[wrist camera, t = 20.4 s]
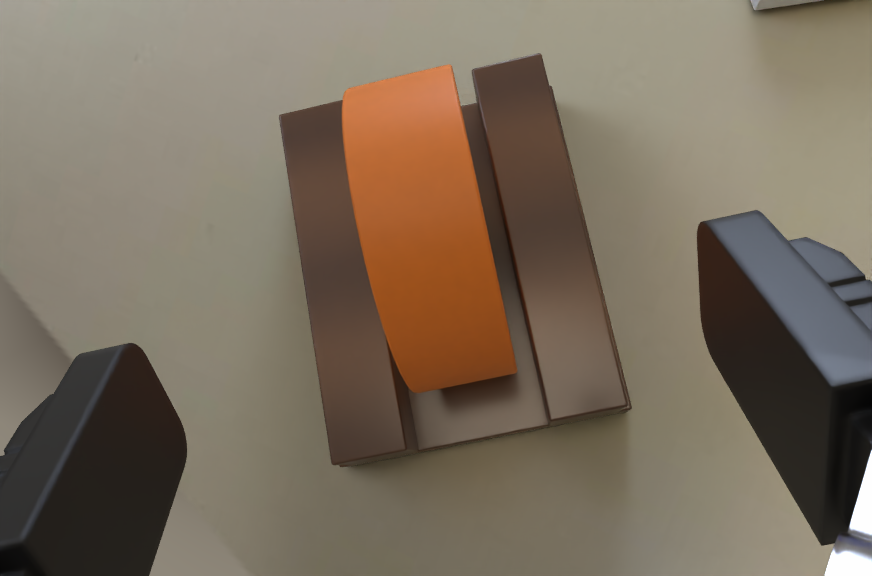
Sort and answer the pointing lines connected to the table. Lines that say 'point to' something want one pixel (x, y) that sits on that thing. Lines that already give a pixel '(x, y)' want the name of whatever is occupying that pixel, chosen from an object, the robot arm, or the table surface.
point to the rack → (516, 270)
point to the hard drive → (776, 3)
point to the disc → (425, 230)
